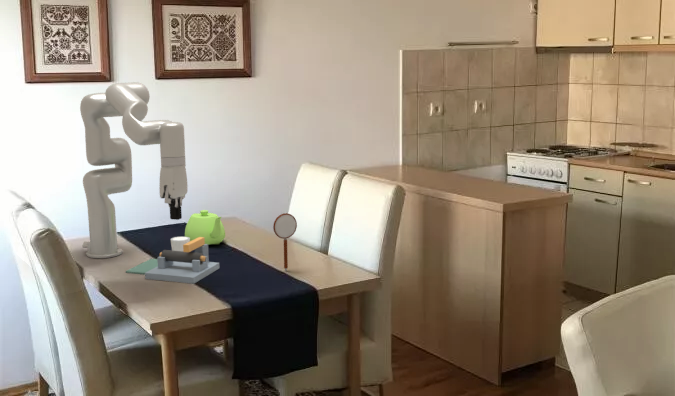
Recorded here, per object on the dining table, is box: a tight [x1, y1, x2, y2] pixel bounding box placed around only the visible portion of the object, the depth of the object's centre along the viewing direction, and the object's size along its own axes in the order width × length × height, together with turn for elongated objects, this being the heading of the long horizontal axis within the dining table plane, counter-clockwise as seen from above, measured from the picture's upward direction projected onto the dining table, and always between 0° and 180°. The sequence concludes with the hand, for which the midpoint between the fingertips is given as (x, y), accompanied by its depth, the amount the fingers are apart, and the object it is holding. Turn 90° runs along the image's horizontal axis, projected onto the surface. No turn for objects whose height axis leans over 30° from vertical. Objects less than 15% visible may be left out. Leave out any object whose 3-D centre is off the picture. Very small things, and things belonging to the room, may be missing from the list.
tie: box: [183, 237, 205, 252], centre depth 248 cm, size 2×11×2 cm, turn 162°
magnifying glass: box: [272, 212, 298, 272], centre depth 250 cm, size 9×2×20 cm, turn 120°
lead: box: [158, 249, 206, 264], centre depth 248 cm, size 16×4×4 cm, turn 72°
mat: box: [125, 258, 158, 276], centre depth 257 cm, size 8×16×1 cm, turn 162°
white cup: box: [170, 236, 190, 251], centre depth 269 cm, size 7×7×7 cm
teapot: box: [184, 209, 226, 246], centre depth 287 cm, size 22×15×13 cm
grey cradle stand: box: [144, 244, 220, 285], centre depth 249 cm, size 18×18×8 cm
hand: (176, 218), depth 236 cm, fingers closed
